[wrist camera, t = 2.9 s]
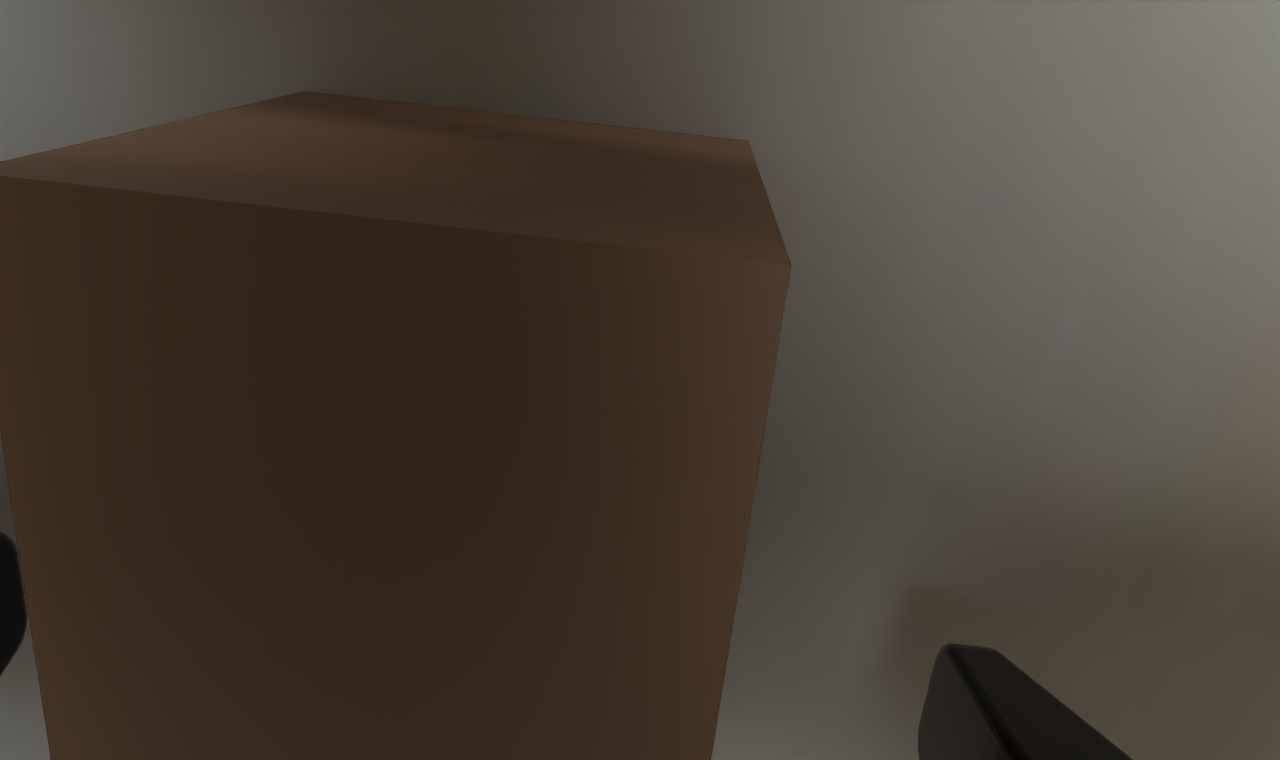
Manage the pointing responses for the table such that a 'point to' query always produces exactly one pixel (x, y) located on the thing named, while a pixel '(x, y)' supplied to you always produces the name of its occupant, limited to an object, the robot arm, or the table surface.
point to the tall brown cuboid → (384, 431)
